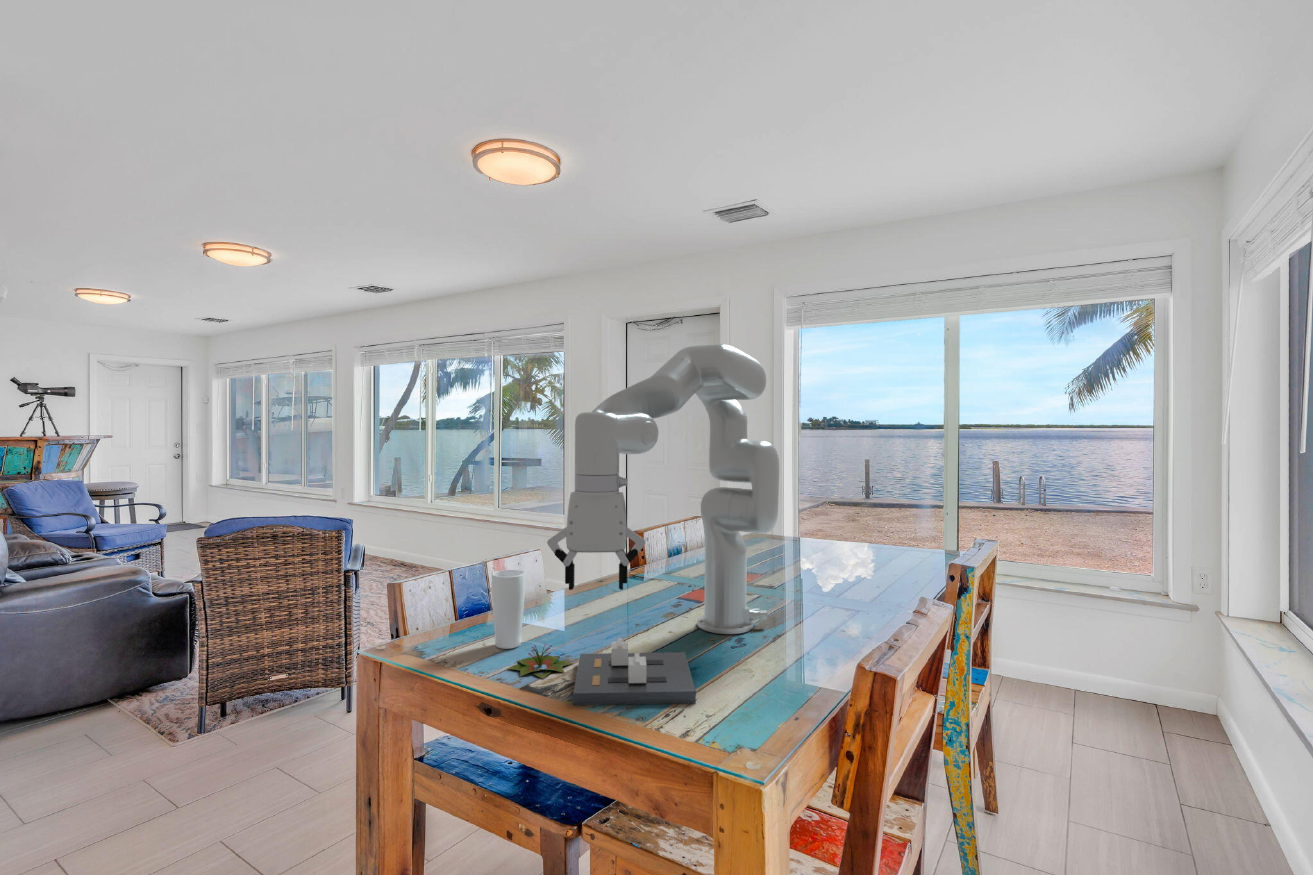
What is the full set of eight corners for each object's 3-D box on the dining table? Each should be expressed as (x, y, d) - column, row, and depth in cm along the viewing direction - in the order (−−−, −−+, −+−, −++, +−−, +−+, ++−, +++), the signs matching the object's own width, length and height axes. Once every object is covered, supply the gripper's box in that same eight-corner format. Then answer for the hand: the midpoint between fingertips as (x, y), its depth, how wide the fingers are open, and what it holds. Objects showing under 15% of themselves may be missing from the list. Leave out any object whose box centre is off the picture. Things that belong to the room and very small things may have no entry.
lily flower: (536, 654, 128) (537, 631, 128) (585, 665, 122) (585, 641, 122) (493, 673, 118) (493, 649, 118) (544, 687, 112) (544, 661, 112)
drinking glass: (531, 642, 133) (531, 571, 133) (511, 653, 127) (511, 578, 127) (505, 638, 136) (505, 568, 136) (484, 648, 130) (484, 574, 129)
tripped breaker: (645, 673, 111) (645, 653, 111) (646, 682, 107) (646, 661, 107) (628, 673, 111) (628, 653, 111) (628, 683, 107) (628, 661, 107)
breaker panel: (684, 662, 122) (684, 651, 122) (695, 703, 104) (695, 690, 104) (580, 664, 121) (580, 653, 121) (573, 705, 103) (573, 692, 103)
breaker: (627, 657, 119) (627, 638, 119) (627, 665, 115) (628, 645, 115) (611, 657, 118) (611, 638, 118) (611, 665, 115) (611, 645, 114)
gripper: (647, 483, 112) (646, 582, 112) (547, 482, 111) (547, 582, 111) (649, 487, 105) (648, 593, 105) (542, 486, 104) (542, 594, 104)
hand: (596, 587), depth 108 cm, fingers open, 7 cm apart
